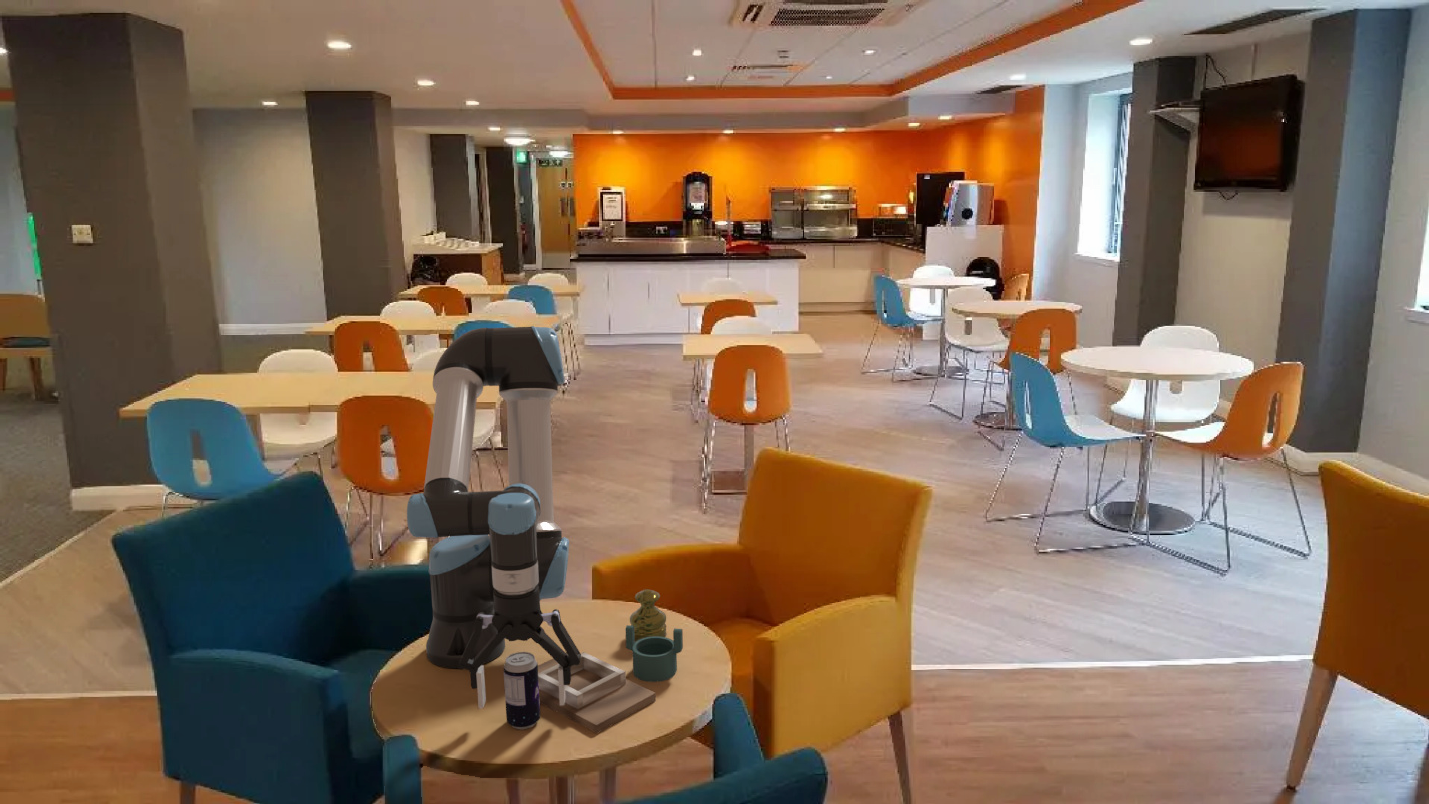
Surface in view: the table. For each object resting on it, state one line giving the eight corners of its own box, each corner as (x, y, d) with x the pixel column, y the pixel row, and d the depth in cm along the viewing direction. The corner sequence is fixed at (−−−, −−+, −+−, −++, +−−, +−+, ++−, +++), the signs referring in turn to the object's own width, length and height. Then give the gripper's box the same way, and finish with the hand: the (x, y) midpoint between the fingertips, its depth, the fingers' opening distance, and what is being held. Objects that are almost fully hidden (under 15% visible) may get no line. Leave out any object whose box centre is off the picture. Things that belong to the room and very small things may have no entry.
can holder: (509, 686, 178) (508, 666, 177) (568, 658, 189) (567, 639, 188) (596, 733, 163) (596, 711, 162) (655, 700, 173) (655, 680, 172)
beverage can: (542, 728, 164) (539, 663, 162) (508, 734, 163) (504, 668, 160) (538, 711, 170) (535, 648, 167) (505, 716, 168) (501, 653, 165)
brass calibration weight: (674, 635, 198) (673, 589, 196) (648, 648, 193) (647, 601, 190) (648, 625, 203) (647, 580, 201) (622, 637, 197) (621, 591, 195)
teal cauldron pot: (686, 674, 182) (686, 630, 181) (642, 686, 178) (641, 641, 176) (664, 655, 190) (663, 612, 188) (621, 666, 185) (620, 623, 184)
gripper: (434, 598, 156) (443, 717, 161) (590, 593, 158) (594, 711, 162) (444, 580, 164) (453, 694, 168) (593, 575, 165) (597, 688, 170)
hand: (522, 703), depth 165 cm, fingers open, 13 cm apart
